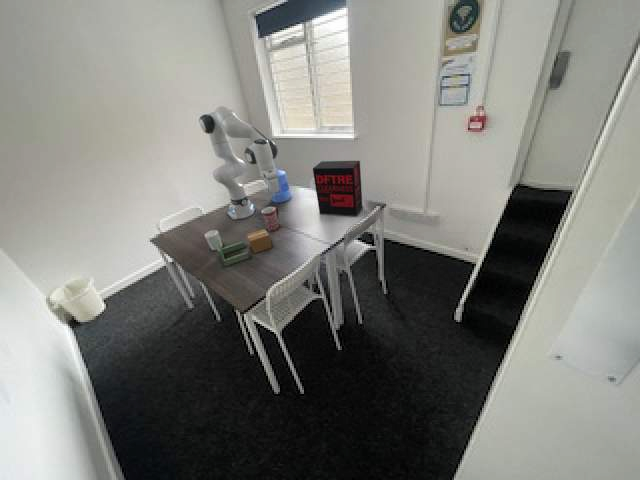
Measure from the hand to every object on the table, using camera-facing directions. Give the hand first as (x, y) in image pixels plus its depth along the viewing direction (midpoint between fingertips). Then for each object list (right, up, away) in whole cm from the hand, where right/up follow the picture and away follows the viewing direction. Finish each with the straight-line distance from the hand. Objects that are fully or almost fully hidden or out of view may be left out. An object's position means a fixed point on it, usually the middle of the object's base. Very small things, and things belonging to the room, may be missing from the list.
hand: (273, 195), depth 148 cm
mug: (-4, -17, +26) cm, 31 cm away
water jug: (-5, +8, +65) cm, 66 cm away
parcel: (-9, -30, +7) cm, 32 cm away
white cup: (-37, -30, +14) cm, 50 cm away
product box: (+41, -5, +33) cm, 53 cm away
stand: (-22, -34, +2) cm, 41 cm away
